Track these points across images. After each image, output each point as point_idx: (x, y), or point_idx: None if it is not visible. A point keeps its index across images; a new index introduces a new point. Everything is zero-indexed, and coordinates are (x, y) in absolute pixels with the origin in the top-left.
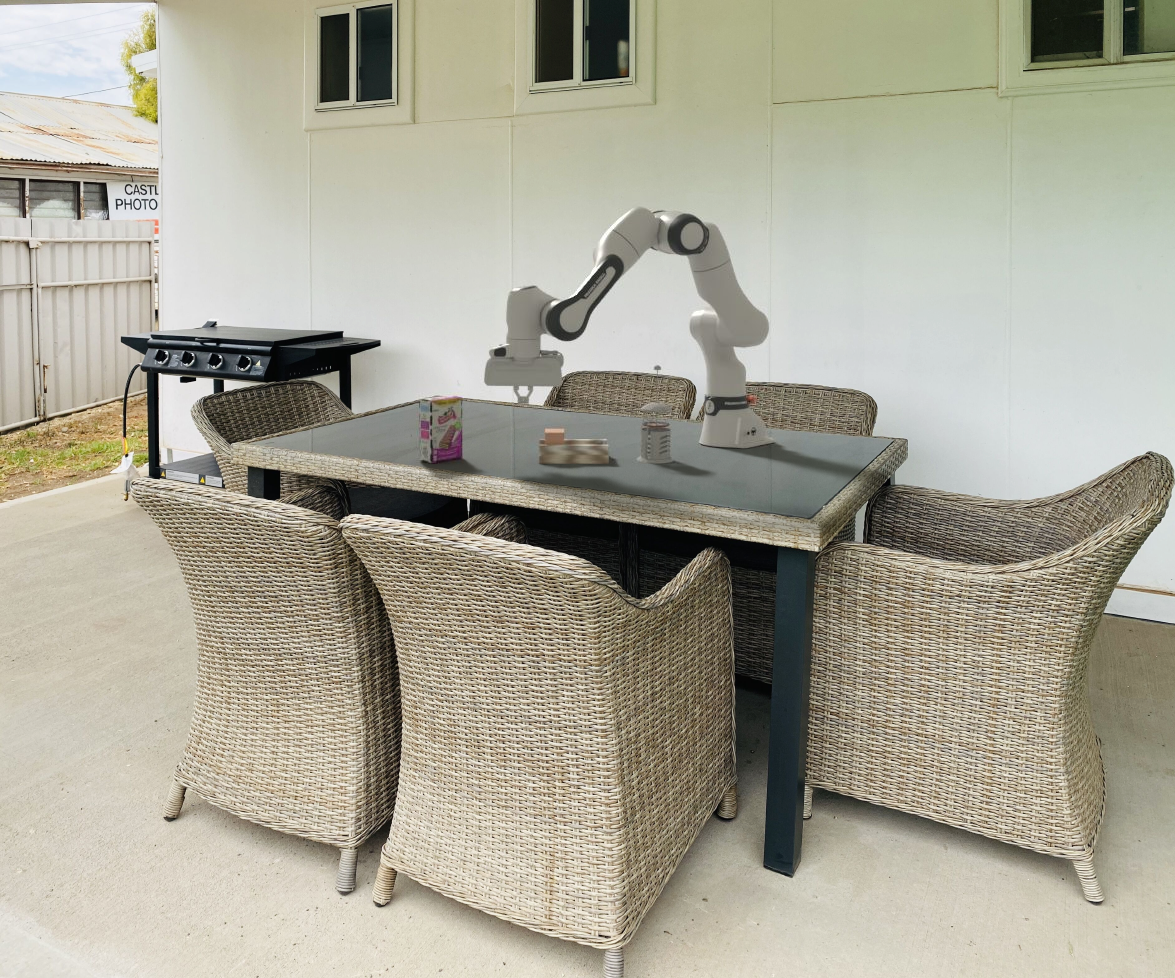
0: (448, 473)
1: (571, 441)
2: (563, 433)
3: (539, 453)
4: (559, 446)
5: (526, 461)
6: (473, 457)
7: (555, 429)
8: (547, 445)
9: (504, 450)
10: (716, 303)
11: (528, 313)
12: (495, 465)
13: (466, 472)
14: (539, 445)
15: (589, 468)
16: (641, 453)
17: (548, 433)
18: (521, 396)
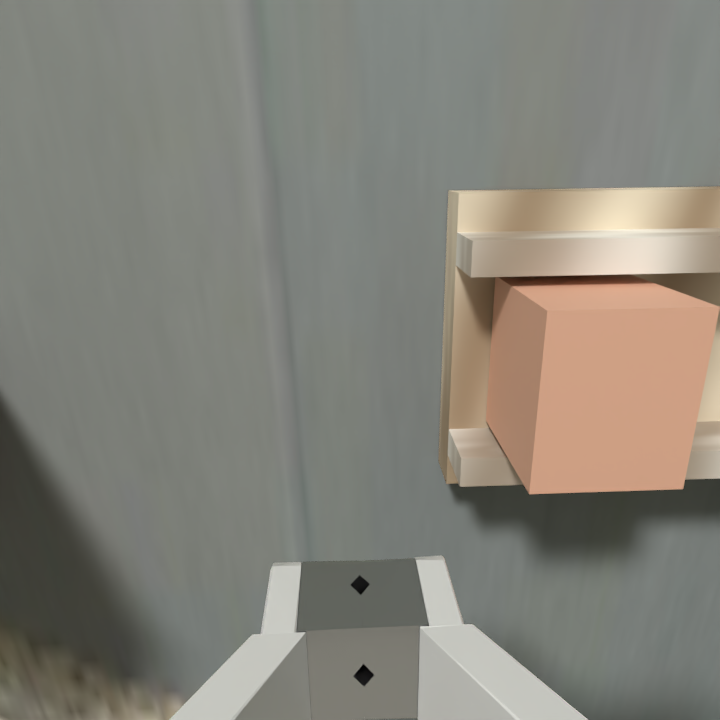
0: (10, 680)
1: (715, 271)
2: (672, 484)
3: (450, 458)
4: None
5: (366, 404)
6: (16, 293)
7: (637, 346)
8: (515, 484)
9: (180, 3)
10: None
11: None
12: (202, 512)
13: (90, 659)
14: (461, 486)
15: (683, 558)
16: None
17: (554, 489)
18: (330, 664)
